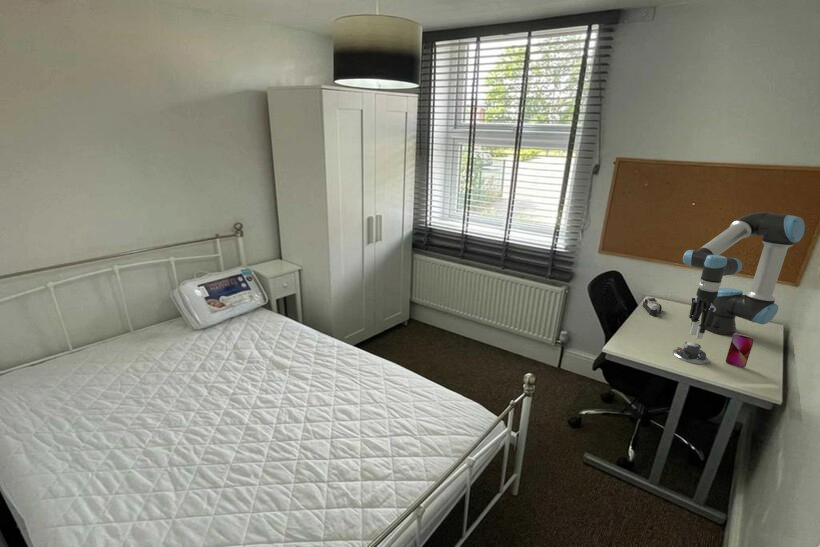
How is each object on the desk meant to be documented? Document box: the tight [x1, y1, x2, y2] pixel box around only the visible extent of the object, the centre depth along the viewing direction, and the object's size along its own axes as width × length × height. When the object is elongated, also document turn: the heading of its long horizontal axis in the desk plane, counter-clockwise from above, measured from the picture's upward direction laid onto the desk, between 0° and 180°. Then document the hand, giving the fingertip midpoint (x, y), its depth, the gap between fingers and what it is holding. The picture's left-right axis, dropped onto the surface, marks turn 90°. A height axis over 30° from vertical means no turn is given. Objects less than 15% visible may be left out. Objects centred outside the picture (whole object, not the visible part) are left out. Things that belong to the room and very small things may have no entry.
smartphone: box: [725, 332, 755, 369], centre depth 180 cm, size 7×1×15 cm, turn 50°
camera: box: [642, 296, 663, 317], centre depth 237 cm, size 16×9×10 cm, turn 168°
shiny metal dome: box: [672, 346, 709, 365], centre depth 188 cm, size 14×14×3 cm
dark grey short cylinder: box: [682, 341, 702, 359], centre depth 187 cm, size 7×6×6 cm
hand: (695, 336), depth 186 cm, fingers open, 3 cm apart
